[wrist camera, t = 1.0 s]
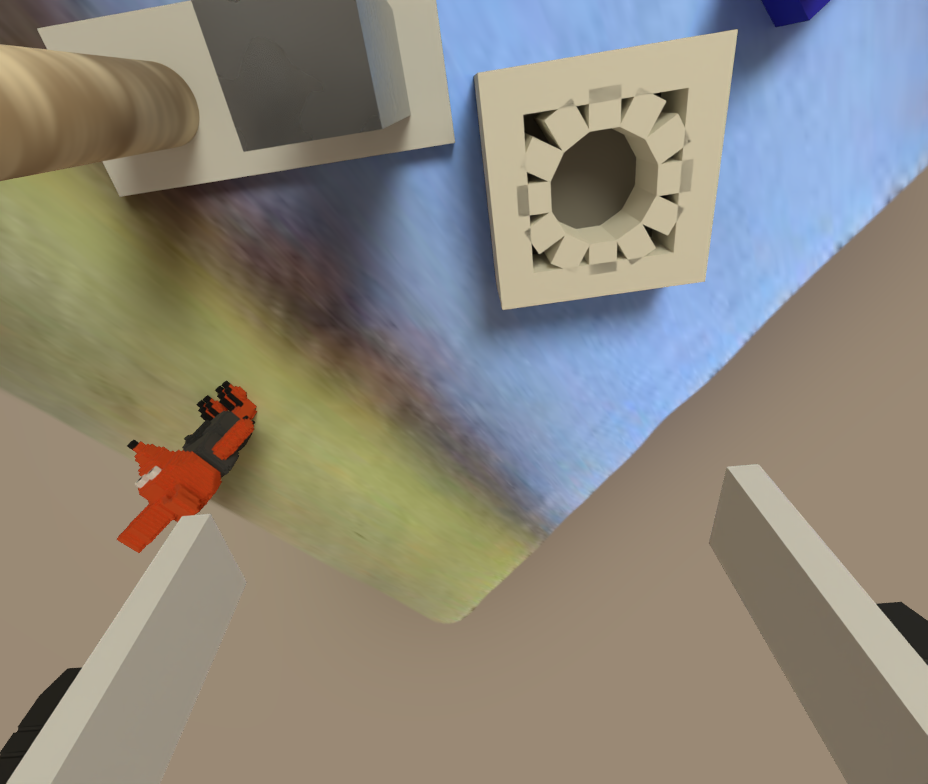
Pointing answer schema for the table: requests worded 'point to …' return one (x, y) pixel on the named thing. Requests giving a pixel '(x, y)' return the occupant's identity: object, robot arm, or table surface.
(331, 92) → the square bar
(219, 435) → the toy animal
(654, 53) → the socket block
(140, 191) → the strip
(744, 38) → the table surface
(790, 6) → the blue curved cradle
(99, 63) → the beech dowel
